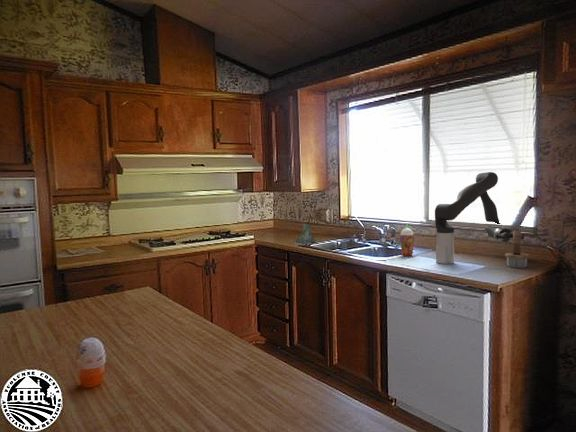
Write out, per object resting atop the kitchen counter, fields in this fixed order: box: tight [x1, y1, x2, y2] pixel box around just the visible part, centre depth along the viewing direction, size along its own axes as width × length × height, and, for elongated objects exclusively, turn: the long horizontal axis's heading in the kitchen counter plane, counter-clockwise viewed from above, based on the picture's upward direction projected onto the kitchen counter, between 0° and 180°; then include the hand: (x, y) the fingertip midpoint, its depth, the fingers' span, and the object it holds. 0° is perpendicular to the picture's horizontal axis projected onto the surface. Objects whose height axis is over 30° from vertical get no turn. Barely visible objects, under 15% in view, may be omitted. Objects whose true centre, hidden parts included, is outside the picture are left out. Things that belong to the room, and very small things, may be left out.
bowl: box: [506, 257, 528, 269], centre depth 231 cm, size 9×9×5 cm
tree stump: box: [293, 223, 317, 244], centre depth 342 cm, size 18×20×18 cm
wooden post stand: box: [504, 230, 530, 259], centre depth 230 cm, size 11×11×14 cm
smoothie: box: [399, 223, 415, 257], centre depth 273 cm, size 8×8×20 cm
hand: (513, 237), depth 235 cm, fingers open, 8 cm apart
